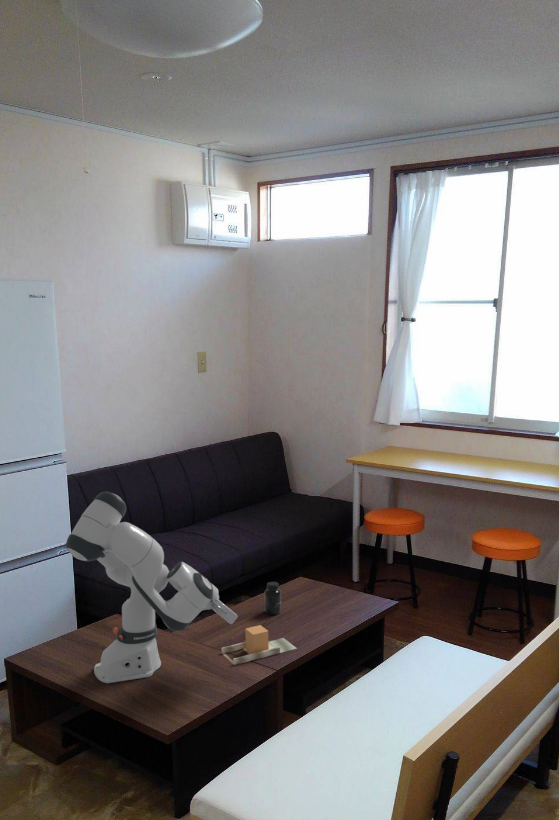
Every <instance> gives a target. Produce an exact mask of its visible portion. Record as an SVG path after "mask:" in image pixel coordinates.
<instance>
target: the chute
mask: <svg viewBox="0 0 559 820" xmlns="http://www.w3.org/2000/svg"><path fill="white" fill-rule="evenodd" d="M268 643H269V650H265V651H261V652H257V653H253V654H250V653H249V652H247V651H246V641H244V642H239V643H237V644H236V643H235V644H232V645H227V646H223V647H221V655H223V656H224V657H225V658H226V659H227V660H228V661H229V662H230V663H231V664H232V665H233V666H236V665H240V664H244V663H247V662H251V661H254V660H259V659H263V658H266V657H270V656H271V657H272V656H274V655H277V654H278V655H279V654H281V653H285V652H290V651H292V650H297V649H298V648H297V647H296V646H294V644H292V643H291V642H289V641H288V640H287V639H285V638H284V637H281V638H278V639H274V640H273V639H272V640H268ZM240 650H243V651H244V652H246V653H247V654H245V655H242V656H238V657H235V658H233V659H232V658H230V656H228V655H227V654H229V653H231V652H235V651H240Z"/></svg>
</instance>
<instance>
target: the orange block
mask: <svg viewBox="0 0 559 820" xmlns="http://www.w3.org/2000/svg"><path fill="white" fill-rule="evenodd" d="M245 642H246V651H247V652H249V653H250V654H253V653H257V652H261V651H265V650H269V643H268V642H269V630H268V629H266V628H265V627H263V626H262V625H261V624H258V625H254V626H250V627H247V628H245ZM246 651H245V652H246ZM247 652H246V653H247Z"/></svg>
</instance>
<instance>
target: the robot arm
mask: <svg viewBox="0 0 559 820" xmlns="http://www.w3.org/2000/svg"><path fill="white" fill-rule="evenodd" d="M126 512H127V505H126V503H125V501H124V500H123V499H122V498H121V497H120V496H119V495H117V494H115V493H113V492H109V491H101V492H99V493H98V494H97V495H96V496H95V497H94V498H93V501H92V502H91V503H90V504H89V505H88V506H87V507H86V508H85V510H84V511H83V513H82V514H81V516H80V518H79V520H78V521H77V523H76V524H75V526H74V527H73V530H72V531H71V534H69V535H68V537H67V539H66V542H65V547H66V550H67V551H68V552H69V554H70V555H71V556H73V557H74V558H75V559H77V560H80V561H83V562H88V563H89V562H92V561H98V562H99V563H100V564H101V565H102V566H104V569H105V572H106V575H107V577H108V578H110V579H111V580H112V581H113V582H115V583H117V584H119V585H122V586H126V587H128V588H130V597H129V598H127V599H126V601H124V602H123V604H122V606H121V617H122V619H121V621H122V623H121V624H122V626H121V627H120V628H118V627H117V626H115V627H113V628H112V633H113V634H114V635H116V639H115V640H114V641H113V642H112V643H110V645H109V646H107V647H106V648H104V650H103V651H102V654H101V657H100V662H99V663H96V664H95V665H94V668H93V673H94V675H95V677H96V678H97V680H98V681H100V682H102V683H105V684H111V683H117V682H118V683H119V682H125V681H129V680H130V681H131V680H136V679H143V678H151V676H153V674H154V672H156V671H157V670H158V669H159V668H160V667H161V666H162V661H161V660H162V659H160V654H159V649H158V644H157V640H158V628H157V627H158V626H157V623H156V614H157V615H158V616H159V618H160V619H161V620H162V622H163V623H164V624H165V626H166V627H167V628H168V629H170V630H171V631H172V632H181V631H186V629H187V628H188V627H189V625H190V624H191V623H192V622H193V620H194V619H195V618H196V617H197V616H198V615H199V614H200V613H201V612H202V611H206V610H207V611H208V610H213V611H214V612H215V613H216V614H217V615H218V616H219V617H221V618H222V619H223V620H224V621H226V622H227V623H228V624H230V625H232V624H234V622H235V621H236V620H237V619H238V617H239V616H238V614H237V613H235V612H234V611H233V610H232V609H231V608H229V607H228V606H227V605H226V604H224V603H223V601H221V600H220V595H219V589H218V588H217V586H215V585H214V584H213V583H211V581H209V579H208V578H207V577H205V575H204V574H202V573H200V572H199V571H197V570H196V569H194V568H193V567H192V566H190V565H189V564H187V563H185V562H184V561H179V562H177V563H176V564H175V565H173V567H171V569H170V570H169V567H168V566H167V565H166V564H164V560H165V553H164V552H165V551H164V549H163V546H161V544H160V543H159V542H157V540H156V539H155V538H153V537H152V535H150V534H148V533H147V532H146V531H145V530H143V529H141V528H140V527H138V526H136V525H134V524H132V523H130V522H127V521H123V522H121V521H122V519H123V518H124V516H125V515H126ZM168 583H170V585H171V586H172V587H173V588H174V589H175V590H177V592H176V593H175V594H174V596H173V597H172V598H171V599H168V600H165V599H164V598H163V597H162V595H161V594H160V592H162V591H163V590H164V589H165V588H166V587H167V585H168Z"/></svg>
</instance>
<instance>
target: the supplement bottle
mask: <svg viewBox="0 0 559 820" xmlns="http://www.w3.org/2000/svg"><path fill="white" fill-rule="evenodd" d="M281 612H282V590H281V589H280V584H279V583H278V582H277V581H269V582H267V583H266V589H265V590H264V613H265V614H267V615H269V616H270V615H271V616H274V615H276V616H277V615H279V614H281Z"/></svg>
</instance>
